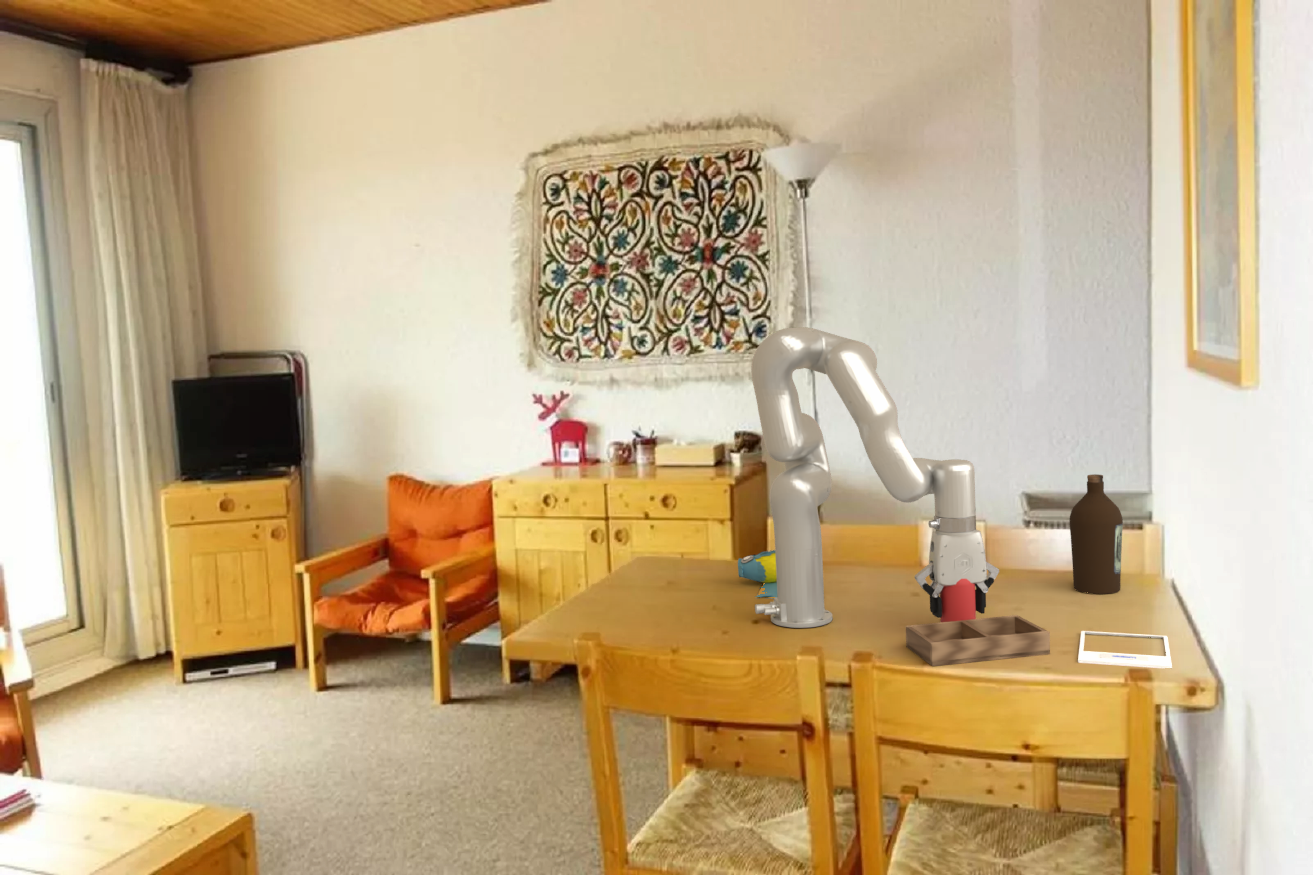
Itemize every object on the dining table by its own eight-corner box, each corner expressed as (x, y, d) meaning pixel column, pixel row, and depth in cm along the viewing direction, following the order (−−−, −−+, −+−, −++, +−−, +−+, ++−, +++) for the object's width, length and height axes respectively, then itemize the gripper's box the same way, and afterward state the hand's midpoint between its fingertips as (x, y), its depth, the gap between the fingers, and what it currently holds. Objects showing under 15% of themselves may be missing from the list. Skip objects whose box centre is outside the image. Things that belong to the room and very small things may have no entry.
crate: (932, 666, 186) (931, 644, 186) (906, 647, 198) (905, 626, 198) (1049, 654, 189) (1049, 632, 189) (1017, 635, 201) (1016, 615, 201)
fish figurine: (793, 562, 237) (727, 563, 241) (796, 600, 238) (729, 601, 241) (807, 537, 264) (747, 539, 268) (809, 571, 265) (749, 573, 268)
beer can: (969, 626, 209) (968, 566, 208) (981, 635, 203) (979, 573, 201) (936, 628, 209) (934, 568, 208) (946, 637, 202) (944, 575, 201)
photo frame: (1078, 658, 184) (1081, 629, 200) (1078, 664, 184) (1081, 635, 201) (1172, 665, 178) (1167, 634, 195) (1172, 671, 178) (1167, 640, 195)
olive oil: (1069, 594, 229) (1067, 478, 226) (1071, 582, 239) (1069, 471, 236) (1123, 596, 225) (1122, 479, 222) (1123, 584, 234) (1122, 471, 232)
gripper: (920, 531, 199) (923, 623, 201) (1007, 524, 201) (1009, 614, 203) (904, 525, 206) (907, 613, 208) (989, 517, 209) (991, 605, 210)
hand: (958, 613), depth 205 cm, fingers open, 8 cm apart
